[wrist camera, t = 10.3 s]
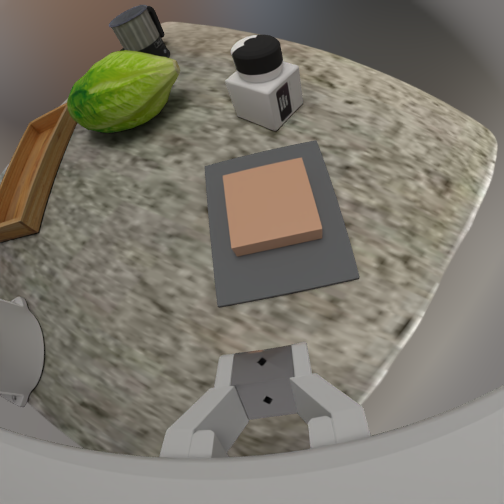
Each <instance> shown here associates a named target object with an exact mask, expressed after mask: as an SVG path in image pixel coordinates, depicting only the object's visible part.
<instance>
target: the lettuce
mask: <svg viewBox="0 0 504 504" xmlns="http://www.w3.org/2000/svg"><path fill="white" fill-rule="evenodd" d="M179 72H180V68H179V66H178V63H177V61H176V60H173V59H170V58H167V57H161V56H156V55H152V54H147V53H142V52H138V51H128V50H124V51H117V52H112V53H111V54H109V55H108V56H106V57H105V58H104V59H102V60H100V61H99V62H97V63H95V64H94V65H93V66H92V67H91V69H89V71H88V72H87V73H86V74H85V75H84V76H83V77H81V78H80V79H79V80H78V81H77V82H76V83H75V84H74V86H73V87H72V89H71V92H70V95H69V97H68V101H67V107H68V111H69V114H70V116H71V117H72V119H73V120H74V121H76V122H77V123H78V124H80V125H81V126H83V127H84V128H86V129H88V130H93V131H97V132H103V133H111V132H119V131H123V130H127V129H131V128H134V127H136V126H139V125H141V124H143V123H146V122H147V121H149V120H151V119H152V118H153V117H155V116H156V115H157V114H159V113H160V111H161V110H162V108H163V107H164V106H165V104H166V103H167V101H168V97H169V94H170V91H171V87H172V86H173V84H174V83H175V81H176V79H177V77H178V75H179Z"/></svg>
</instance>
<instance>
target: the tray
mask: <svg viewBox="0 0 504 504" xmlns="http://www.w3.org/2000/svg"><path fill="white" fill-rule="evenodd" d="M76 124H77V122H76V121H74V120H73V119H72V117H71V116H70V114H69V111H68V107H67V103H65V104H63V105H61V106H59V107H57V108H56V109H54V110H52V111H50V112H48V113H46V114H44V115H42V116H41V117H39V118H37V119H35V120H33V121H32V122H30V123H29V125H28V127H27V129H26V131H25V132H24V134H23V137H22V138H21V141H20V142H19V144H18V146H17V148H16V150H15V153H14V155H13V157H12V159H11V161H10V164H9V166H8V168H7V170H6V173H5V175H4V177H3V180H2V182H1V185H0V242H3V241H7V240H10V239H14V238H18V237H22V236H26V235H30V234H34V233H38V231H39V227H40V223H41V220H42V216H43V212H44V209H45V206H46V202H47V199H48V196H49V193H50V190H51V187H52V184H53V181H54V178H55V175H56V173H57V170H58V167H59V165H60V162H61V159H62V157H63V154H64V152H65V149H66V147H67V145H68V142H69V140H70V138H71V135H72V133H73V131H74V129H75V126H76Z"/></svg>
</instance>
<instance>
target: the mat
mask: <svg viewBox="0 0 504 504" xmlns="http://www.w3.org/2000/svg"><path fill="white" fill-rule="evenodd" d="M301 157H302V160H303V163H304V166H305V170H306V173H307V176H308V180H309V183H310V186H311V190H312V193H313V197H314V200H315V204H316V207H317V211H318V214H319V218H320V222H321V225H322V239H317V240H312V241H308V242H303V243H298V244H294V245H289V246H284V247H280V248H275V249H270V250H266V251H261V252H256V253H252V254H247V255H242V256H238V257H237V256H236V254H235V253H234V251H233V250H232V248H231V241H230V233H229V225H228V216H227V208H226V200H225V191H224V183H223V175H227V174H231V173H235V172H239V171H243V170H248V169H252V168H256V167H260V166H265V165H269V164H273V163H278V162H282V161H287V160H292V159H297V158H301ZM205 178H206V191H207V203H208V215H209V227H210V237H211V248H212V258H213V268H214V278H215V287H216V296H217V305H218V307H223V306H229V305H234V304H240V303H245V302H250V301H256V300H261V299H266V298H271V297H276V296H281V295H286V294H291V293H296V292H301V291H305V290H310V289H315V288H320V287H324V286H329V285H333V284H338V283H342V282H347V281H351V280H355V279H359V273H358V270H357V266H356V262H355V259H354V255H353V251H352V248H351V244H350V241H349V237H348V234H347V231H346V227H345V224H344V221H343V217H342V214H341V211H340V208H339V205H338V201H337V198H336V195H335V192H334V189H333V186H332V183H331V180H330V177H329V174H328V171H327V169H326V166H325V163H324V160H323V157H322V154H321V152H320V149H319V146H318V144H317V141H310V142H305V143H300V144H295V145H291V146H286V147H281V148H277V149H272V150H268V151H263V152H259V153H255V154H251V155H247V156H242V157H238V158H234V159H231V160H227V161H223V162H219V163H215V164H212V165H208V166H205Z"/></svg>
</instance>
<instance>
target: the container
mask: <svg viewBox="0 0 504 504" xmlns="http://www.w3.org/2000/svg"><path fill="white" fill-rule="evenodd" d="M231 54H232V58H233V61H234V64H235V67H236V70H237V71H236V72H235V73H234V74H232V75H231V76H230V77H229V78H228V79H226V81H225V83H226V86H227V88H228V91H229V94H230V97H231V100H232V103H233V106H234V108H235V111H236V114H237V116H238V117H241V118H243V119H246V120H248V121H251V122H253V123H256V124H258V125H261V126H263V127H266V128H268V129H271V130H273V131H276V130H278V129H279V128H280V126H281V125H282V124H283V123H284V122H285V121H286V120H287V119H288V118H289V117H290V116H291V115H292V114H293V113H294V112H295V111H296V110H297V109H298V108H299V107H300V106H301V105H302V103H303V98H302V90H301V82H300V74H299V67H298V66H297V65H294V64H291V63H287V62H283V58H282V52H281V47H280V42H279V41H278V40H277V39H276V38H274V37H272V36H269V35H253V36H249V37H246V38H243V39H241V40H239V41H238V42H236V43H235V44H234V46H233V47H232V49H231Z"/></svg>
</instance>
